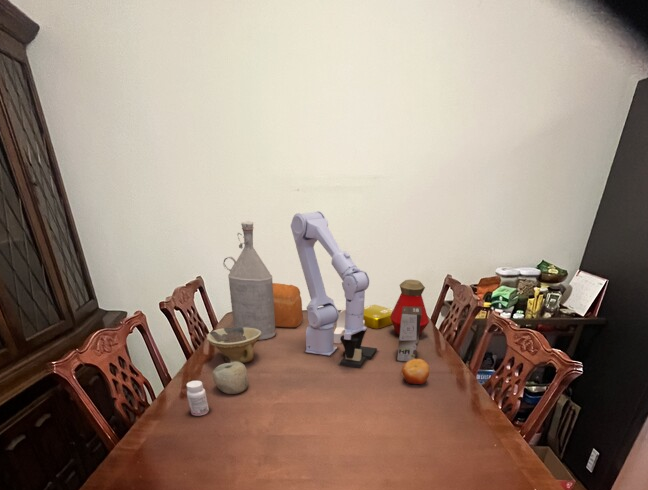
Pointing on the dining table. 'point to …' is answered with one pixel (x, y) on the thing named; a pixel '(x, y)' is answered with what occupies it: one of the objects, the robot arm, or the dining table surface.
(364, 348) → the base pad
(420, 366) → the fruit
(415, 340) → the coffee box
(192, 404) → the pill bottle
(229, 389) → the stone
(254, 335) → the bowl
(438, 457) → the dining table surface
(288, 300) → the bread
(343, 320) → the white slotted holder
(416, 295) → the bottle
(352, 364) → the loose pad
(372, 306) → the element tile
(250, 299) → the grey jug
